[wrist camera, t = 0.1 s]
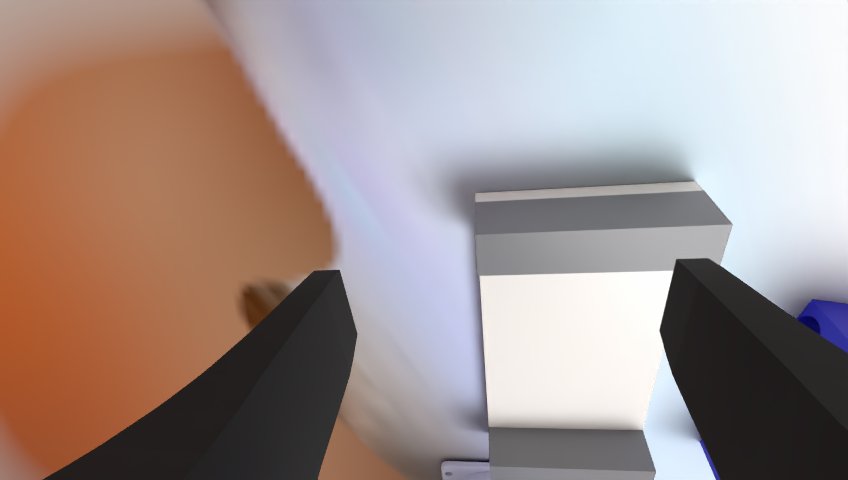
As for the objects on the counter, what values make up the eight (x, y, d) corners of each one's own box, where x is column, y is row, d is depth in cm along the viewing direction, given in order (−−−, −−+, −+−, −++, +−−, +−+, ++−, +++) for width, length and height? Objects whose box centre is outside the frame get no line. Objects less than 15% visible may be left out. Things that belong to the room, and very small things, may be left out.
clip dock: (633, 437, 29) (650, 490, 26) (489, 434, 30) (490, 484, 27) (696, 181, 19) (732, 224, 16) (475, 193, 20) (474, 234, 17)
